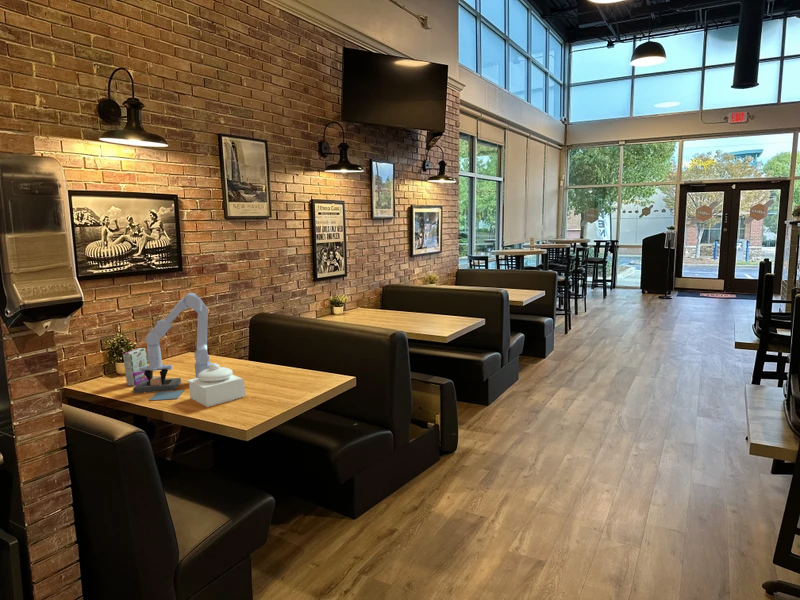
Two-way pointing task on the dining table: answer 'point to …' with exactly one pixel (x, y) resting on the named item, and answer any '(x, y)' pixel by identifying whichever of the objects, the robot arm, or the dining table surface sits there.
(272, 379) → the dining table surface
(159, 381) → the coral block
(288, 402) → the dining table surface
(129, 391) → the dining table surface
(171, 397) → the rubber mat
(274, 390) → the dining table surface
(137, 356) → the candy bar box
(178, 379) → the dark grey tray
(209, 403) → the white domed box
